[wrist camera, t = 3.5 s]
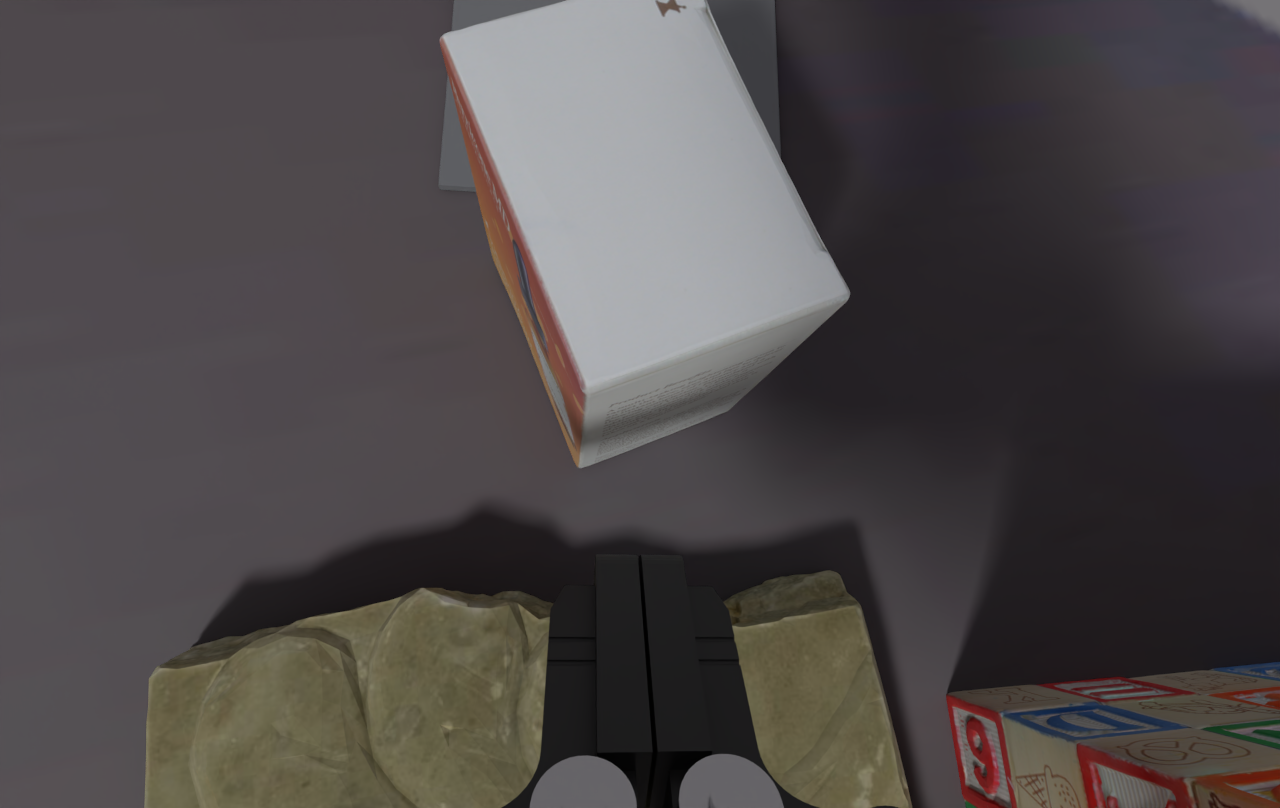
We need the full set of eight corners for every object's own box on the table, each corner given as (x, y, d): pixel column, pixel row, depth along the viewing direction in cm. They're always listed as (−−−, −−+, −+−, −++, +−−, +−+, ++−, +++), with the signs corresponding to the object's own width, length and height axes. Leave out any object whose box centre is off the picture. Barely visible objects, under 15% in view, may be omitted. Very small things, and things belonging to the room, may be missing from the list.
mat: (440, 189, 24) (438, 185, 24) (470, -174, 28) (469, -182, 27) (780, 209, 25) (783, 204, 25) (766, -144, 29) (768, -151, 28)
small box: (490, 257, 24) (428, 21, 13) (642, 207, 25) (692, -49, 14) (575, 475, 22) (579, 399, 12) (733, 414, 23) (860, 294, 13)
